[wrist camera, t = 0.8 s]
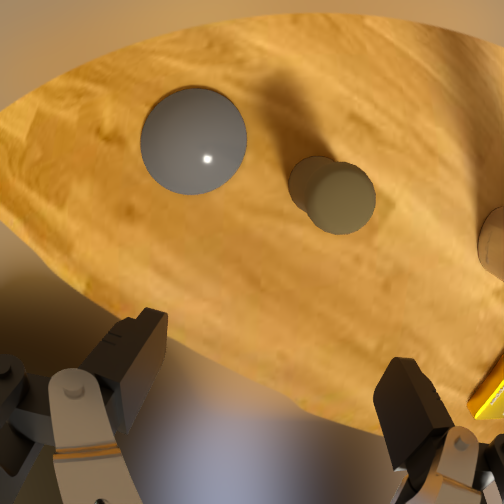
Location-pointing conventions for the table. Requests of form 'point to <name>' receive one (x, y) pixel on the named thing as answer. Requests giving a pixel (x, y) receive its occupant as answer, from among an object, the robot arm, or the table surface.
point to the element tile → (489, 395)
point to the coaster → (193, 141)
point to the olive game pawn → (333, 194)
